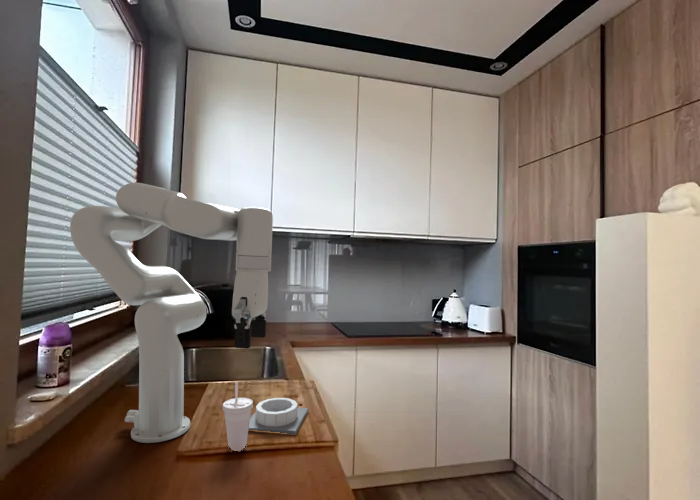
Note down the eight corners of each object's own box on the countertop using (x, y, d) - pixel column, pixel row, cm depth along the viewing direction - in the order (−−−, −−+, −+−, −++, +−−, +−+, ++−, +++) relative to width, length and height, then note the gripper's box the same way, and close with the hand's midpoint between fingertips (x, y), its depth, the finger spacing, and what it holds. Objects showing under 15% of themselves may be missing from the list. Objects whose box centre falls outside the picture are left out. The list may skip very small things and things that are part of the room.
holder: (241, 431, 90) (241, 414, 90) (260, 409, 103) (261, 394, 103) (295, 435, 88) (295, 417, 88) (308, 412, 101) (308, 396, 101)
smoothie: (241, 437, 87) (241, 376, 87) (258, 446, 83) (259, 382, 83) (216, 448, 82) (216, 383, 82) (233, 458, 78) (233, 390, 78)
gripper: (251, 262, 92) (248, 332, 92) (219, 264, 75) (216, 351, 75) (281, 263, 92) (278, 334, 92) (256, 266, 74) (253, 353, 74)
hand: (250, 342), depth 83 cm, fingers open, 9 cm apart
